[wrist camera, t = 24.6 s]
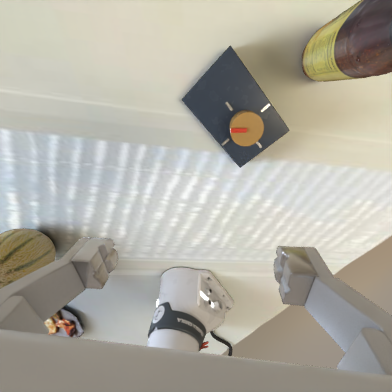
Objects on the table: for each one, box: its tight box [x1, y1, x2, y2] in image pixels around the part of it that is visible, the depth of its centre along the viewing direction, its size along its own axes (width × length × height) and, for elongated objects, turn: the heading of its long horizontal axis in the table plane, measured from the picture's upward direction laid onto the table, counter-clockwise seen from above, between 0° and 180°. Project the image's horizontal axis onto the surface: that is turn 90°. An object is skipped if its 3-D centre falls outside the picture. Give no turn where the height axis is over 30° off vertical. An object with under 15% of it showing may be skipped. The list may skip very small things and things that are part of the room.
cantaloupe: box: [0, 228, 56, 289], centre depth 45 cm, size 15×15×15 cm
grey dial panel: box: [182, 46, 289, 168], centre depth 29 cm, size 14×9×3 cm, turn 43°
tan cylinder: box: [229, 110, 264, 146], centre depth 26 cm, size 4×4×4 cm
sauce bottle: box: [302, 0, 392, 82], centre depth 17 cm, size 7×6×20 cm
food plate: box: [44, 309, 84, 338], centre depth 71 cm, size 25×23×4 cm
